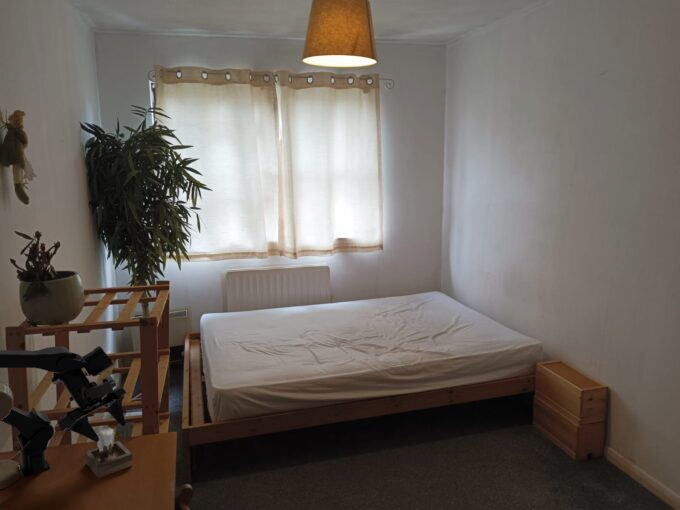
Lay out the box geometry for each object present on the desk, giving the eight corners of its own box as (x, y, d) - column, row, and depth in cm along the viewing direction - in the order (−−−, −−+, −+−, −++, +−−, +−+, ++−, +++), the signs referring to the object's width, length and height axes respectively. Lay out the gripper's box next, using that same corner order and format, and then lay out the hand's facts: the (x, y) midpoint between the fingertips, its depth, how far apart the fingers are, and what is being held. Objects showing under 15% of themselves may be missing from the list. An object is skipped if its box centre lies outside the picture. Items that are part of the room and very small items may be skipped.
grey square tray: (86, 463, 146) (85, 451, 146) (118, 451, 153) (118, 440, 152) (98, 478, 140) (98, 466, 139) (132, 465, 146) (131, 453, 146)
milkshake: (110, 466, 143) (109, 432, 141) (93, 463, 144) (91, 429, 142) (121, 457, 147) (120, 424, 145) (104, 454, 148) (102, 421, 147)
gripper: (64, 384, 134) (99, 434, 132) (120, 359, 151) (152, 403, 149) (43, 406, 139) (77, 455, 137) (100, 380, 156) (131, 423, 154)
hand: (111, 433), depth 144 cm, fingers open, 9 cm apart
